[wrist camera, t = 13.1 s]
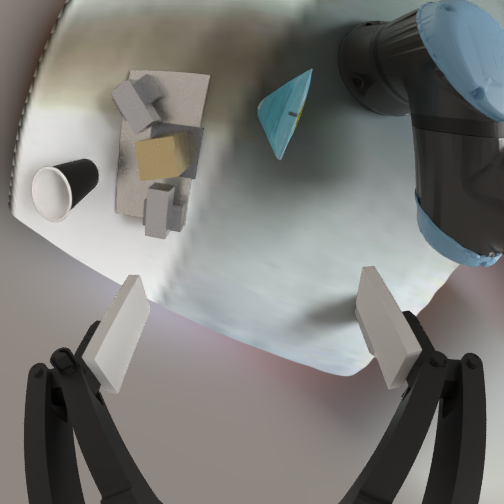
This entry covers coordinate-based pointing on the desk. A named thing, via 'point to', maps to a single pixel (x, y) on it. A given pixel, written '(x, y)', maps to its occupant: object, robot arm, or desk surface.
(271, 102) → the tube
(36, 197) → the dixie cup
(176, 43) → the desk surface
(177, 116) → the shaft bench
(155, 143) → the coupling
